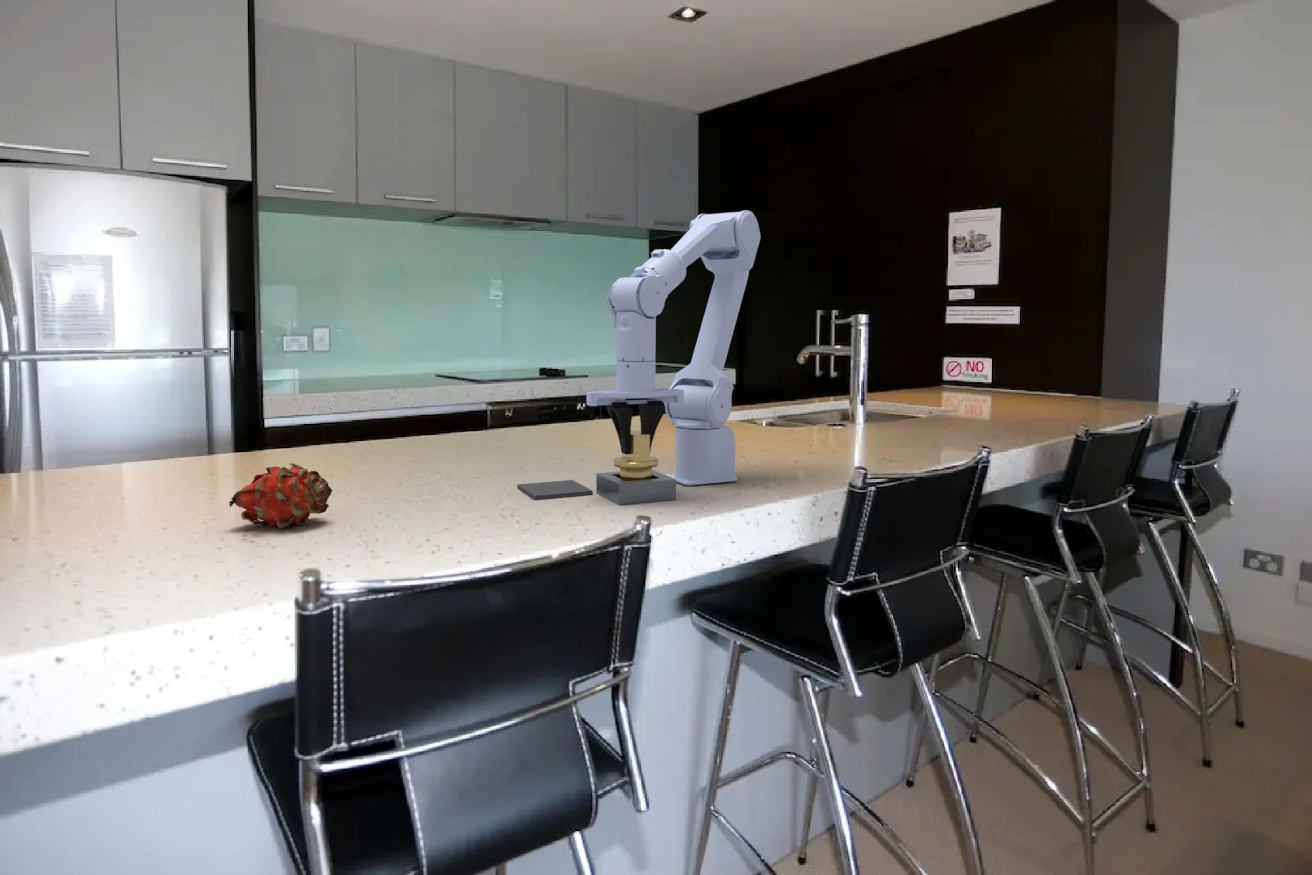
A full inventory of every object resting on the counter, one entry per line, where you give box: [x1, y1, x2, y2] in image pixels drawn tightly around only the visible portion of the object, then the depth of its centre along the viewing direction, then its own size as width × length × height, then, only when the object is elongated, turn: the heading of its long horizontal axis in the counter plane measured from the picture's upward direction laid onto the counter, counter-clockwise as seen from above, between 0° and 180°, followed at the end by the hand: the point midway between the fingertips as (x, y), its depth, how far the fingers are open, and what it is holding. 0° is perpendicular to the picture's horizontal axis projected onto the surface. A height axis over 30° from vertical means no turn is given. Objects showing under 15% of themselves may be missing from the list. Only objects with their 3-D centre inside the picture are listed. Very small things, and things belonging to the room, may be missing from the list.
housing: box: [595, 469, 677, 506], centre depth 125 cm, size 9×9×3 cm
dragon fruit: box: [228, 462, 333, 530], centre depth 107 cm, size 8×8×12 cm
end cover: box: [612, 429, 659, 481], centre depth 125 cm, size 7×7×8 cm
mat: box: [517, 479, 594, 501], centre depth 129 cm, size 9×9×1 cm
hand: (635, 452), depth 125 cm, fingers closed on end cover, 2 cm apart
